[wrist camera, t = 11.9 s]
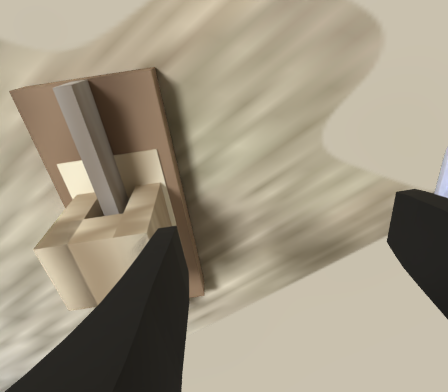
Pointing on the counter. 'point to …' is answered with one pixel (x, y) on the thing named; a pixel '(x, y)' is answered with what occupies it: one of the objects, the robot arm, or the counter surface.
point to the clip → (99, 244)
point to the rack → (109, 145)
